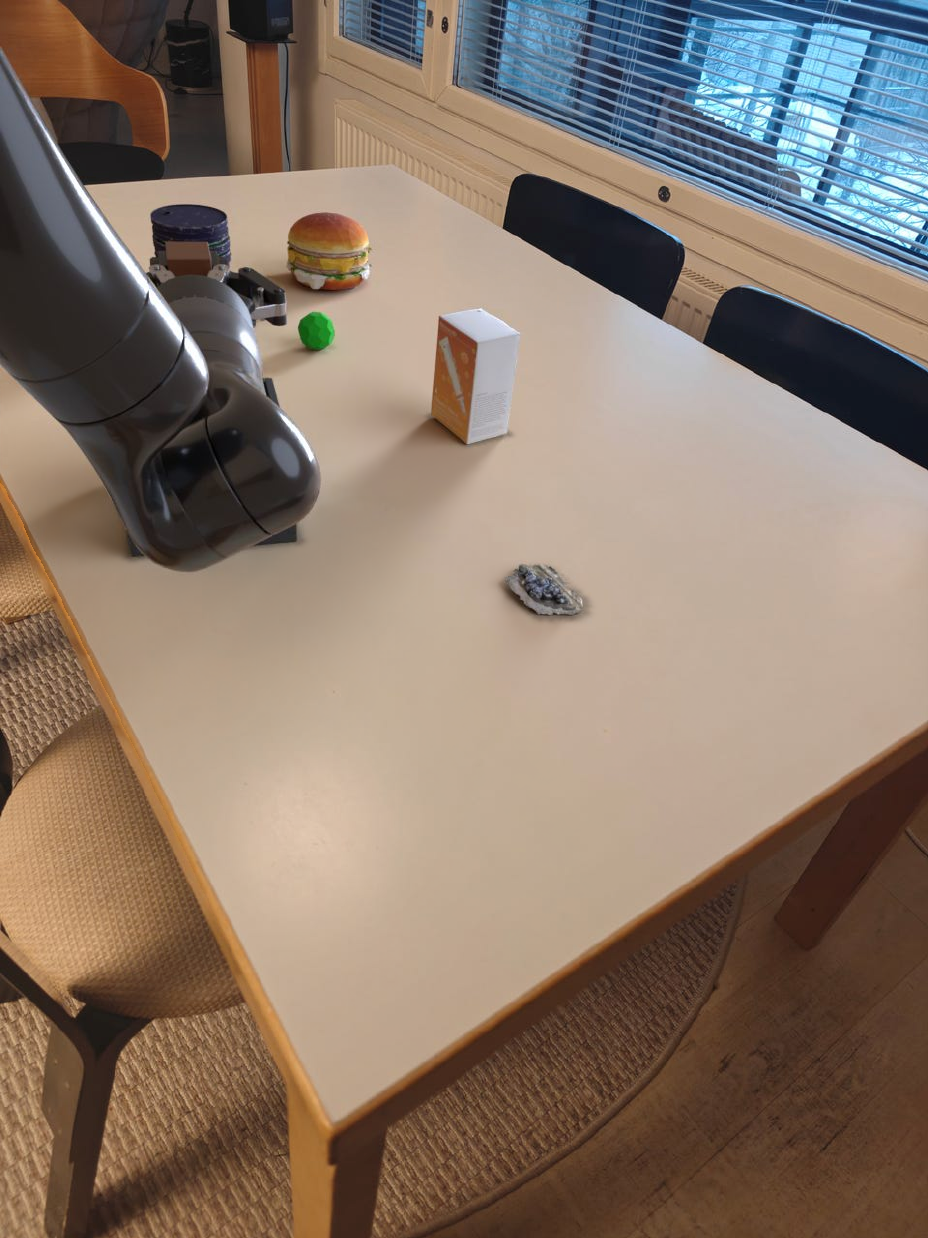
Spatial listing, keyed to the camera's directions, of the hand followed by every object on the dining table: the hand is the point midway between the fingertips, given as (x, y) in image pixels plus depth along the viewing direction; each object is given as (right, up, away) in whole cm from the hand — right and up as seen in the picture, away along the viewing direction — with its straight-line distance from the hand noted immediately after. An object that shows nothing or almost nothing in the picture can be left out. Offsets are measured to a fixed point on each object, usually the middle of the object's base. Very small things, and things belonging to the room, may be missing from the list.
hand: (188, 263), depth 70 cm
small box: (+23, -5, +38) cm, 44 cm away
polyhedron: (+2, +9, +51) cm, 51 cm away
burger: (0, +26, +70) cm, 75 cm away
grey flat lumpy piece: (+30, -26, +14) cm, 42 cm away
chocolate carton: (0, -9, +4) cm, 10 cm away
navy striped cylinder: (-15, +12, +52) cm, 56 cm away
